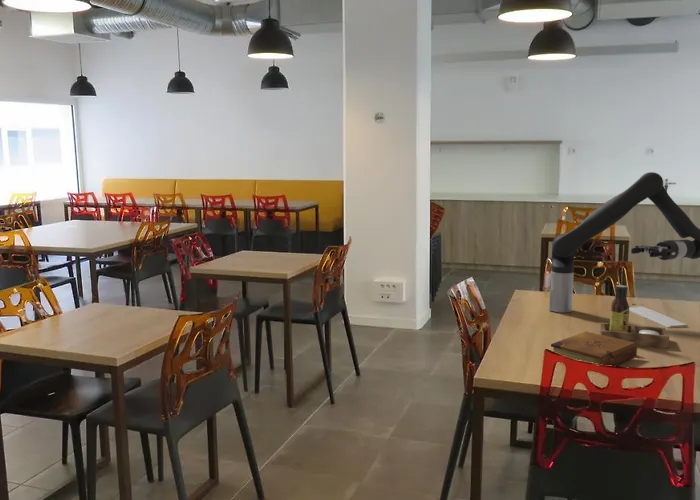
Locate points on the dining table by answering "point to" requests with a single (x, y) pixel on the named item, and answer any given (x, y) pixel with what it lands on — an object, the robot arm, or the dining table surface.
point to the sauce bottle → (619, 310)
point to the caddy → (639, 335)
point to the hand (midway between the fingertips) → (641, 252)
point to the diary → (596, 348)
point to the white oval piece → (648, 332)
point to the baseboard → (656, 317)
